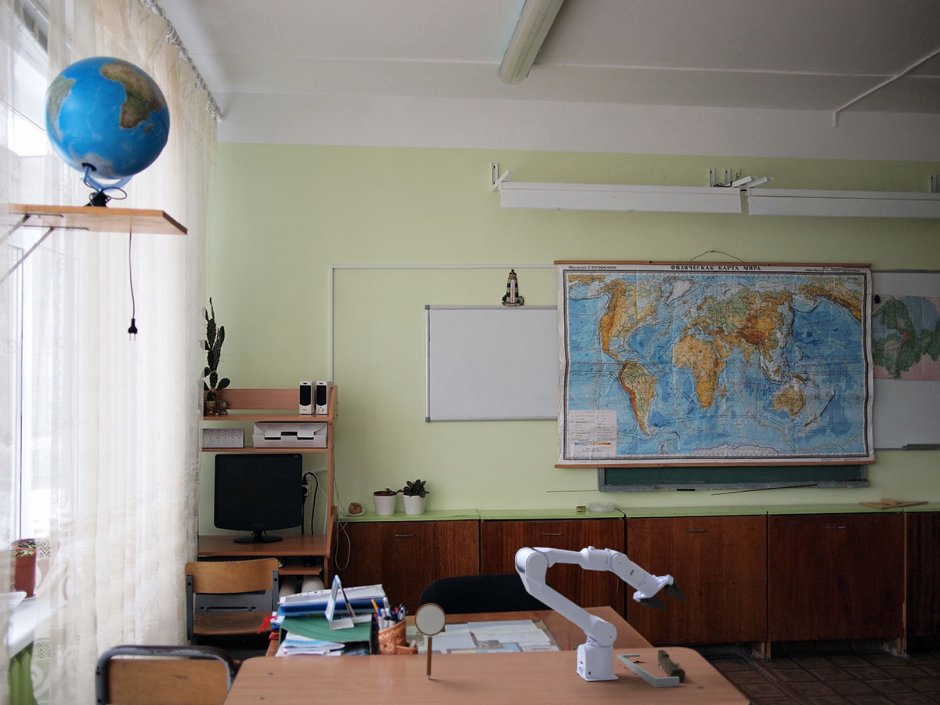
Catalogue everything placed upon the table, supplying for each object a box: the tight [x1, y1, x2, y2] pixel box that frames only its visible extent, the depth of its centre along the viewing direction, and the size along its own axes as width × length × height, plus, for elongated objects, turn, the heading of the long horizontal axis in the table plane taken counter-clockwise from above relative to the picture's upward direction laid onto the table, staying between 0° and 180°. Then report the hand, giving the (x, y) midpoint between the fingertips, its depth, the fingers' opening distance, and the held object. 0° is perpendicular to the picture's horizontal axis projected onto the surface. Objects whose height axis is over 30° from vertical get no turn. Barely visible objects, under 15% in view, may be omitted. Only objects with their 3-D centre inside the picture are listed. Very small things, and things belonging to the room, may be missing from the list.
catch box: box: [616, 653, 680, 688], centre depth 234 cm, size 7×24×2 cm, turn 15°
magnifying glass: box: [414, 602, 447, 680], centre depth 225 cm, size 9×2×20 cm, turn 89°
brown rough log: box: [657, 649, 686, 684], centre depth 236 cm, size 19×4×5 cm, turn 0°
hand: (674, 603), depth 238 cm, fingers open, 7 cm apart
